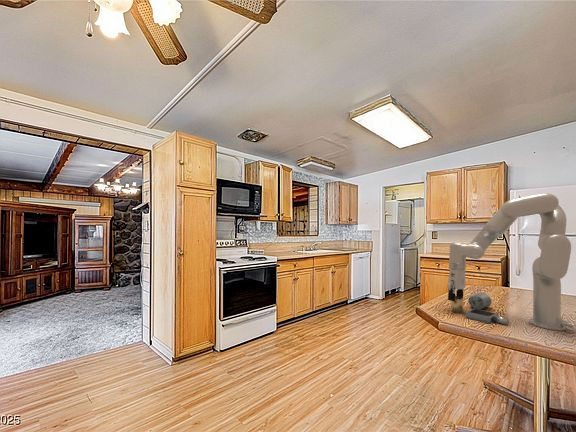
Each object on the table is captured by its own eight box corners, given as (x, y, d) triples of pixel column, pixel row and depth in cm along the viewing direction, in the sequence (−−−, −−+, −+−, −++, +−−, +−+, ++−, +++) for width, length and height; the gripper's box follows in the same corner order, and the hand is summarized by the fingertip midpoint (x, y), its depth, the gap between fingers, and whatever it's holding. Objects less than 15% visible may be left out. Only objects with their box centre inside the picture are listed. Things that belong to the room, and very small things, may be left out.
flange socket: (511, 323, 136) (511, 316, 136) (504, 327, 130) (504, 320, 130) (474, 314, 148) (474, 307, 148) (465, 317, 142) (465, 311, 142)
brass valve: (464, 312, 151) (464, 296, 152) (460, 314, 148) (460, 298, 148) (453, 309, 155) (454, 294, 156) (449, 311, 152) (449, 296, 152)
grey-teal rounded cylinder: (484, 306, 151) (477, 287, 157) (466, 310, 158) (461, 292, 164) (499, 310, 157) (492, 291, 162) (482, 313, 164) (476, 296, 169)
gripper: (457, 268, 144) (456, 303, 144) (471, 266, 155) (470, 299, 155) (442, 266, 150) (440, 299, 150) (456, 264, 161) (455, 295, 161)
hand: (455, 299), depth 152 cm, fingers open, 9 cm apart
